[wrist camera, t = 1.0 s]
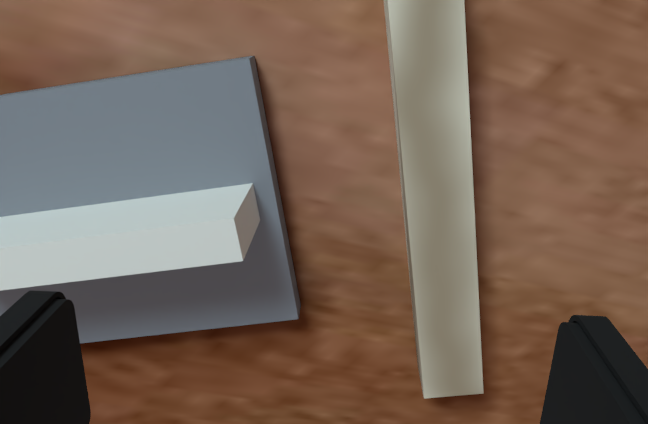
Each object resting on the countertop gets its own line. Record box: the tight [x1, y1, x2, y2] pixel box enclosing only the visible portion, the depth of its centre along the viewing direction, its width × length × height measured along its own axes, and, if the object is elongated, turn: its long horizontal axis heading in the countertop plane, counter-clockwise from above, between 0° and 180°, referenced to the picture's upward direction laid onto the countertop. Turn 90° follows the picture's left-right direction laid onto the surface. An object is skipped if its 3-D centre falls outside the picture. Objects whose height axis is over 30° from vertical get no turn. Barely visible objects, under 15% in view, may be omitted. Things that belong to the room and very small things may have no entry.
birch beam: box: [384, 0, 484, 398], centre depth 29 cm, size 3×22×3 cm, turn 8°
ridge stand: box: [0, 56, 301, 343], centre depth 28 cm, size 18×14×6 cm
